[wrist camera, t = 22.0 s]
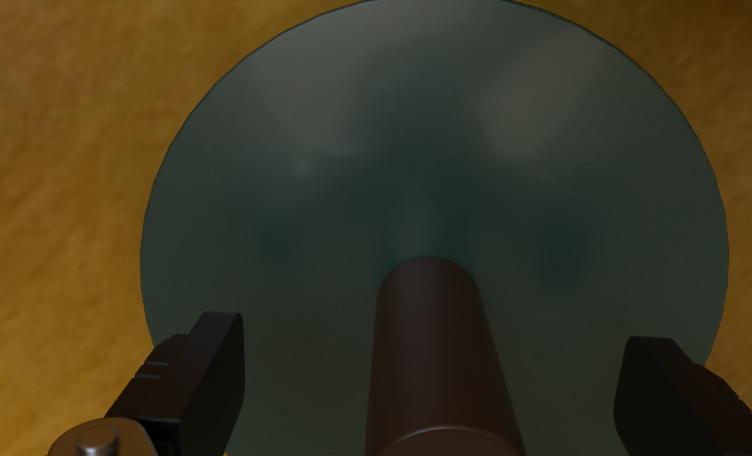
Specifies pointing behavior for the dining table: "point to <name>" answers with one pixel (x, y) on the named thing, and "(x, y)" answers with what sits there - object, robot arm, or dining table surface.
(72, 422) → the dining table surface
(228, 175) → the lid
